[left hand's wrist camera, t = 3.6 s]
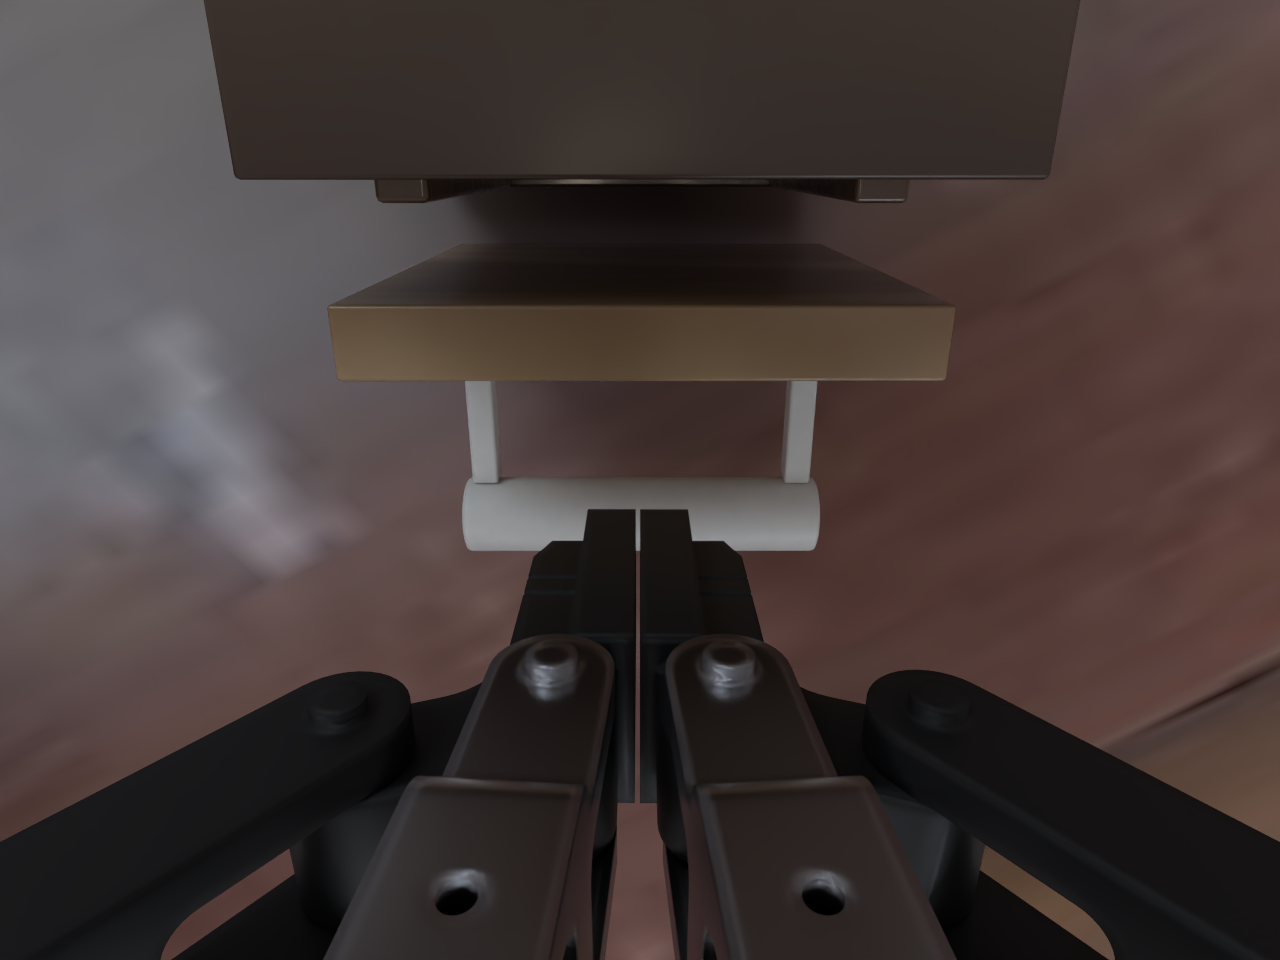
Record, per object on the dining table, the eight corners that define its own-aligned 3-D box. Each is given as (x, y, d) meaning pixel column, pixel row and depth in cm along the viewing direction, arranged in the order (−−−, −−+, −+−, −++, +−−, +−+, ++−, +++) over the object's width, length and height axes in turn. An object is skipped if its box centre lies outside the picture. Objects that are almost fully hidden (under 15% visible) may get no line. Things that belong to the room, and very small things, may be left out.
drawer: (803, 482, 24) (904, 680, 15) (478, 482, 24) (379, 680, 15) (883, -513, 16) (1205, -1406, 7) (398, -513, 16) (79, -1406, 7)
